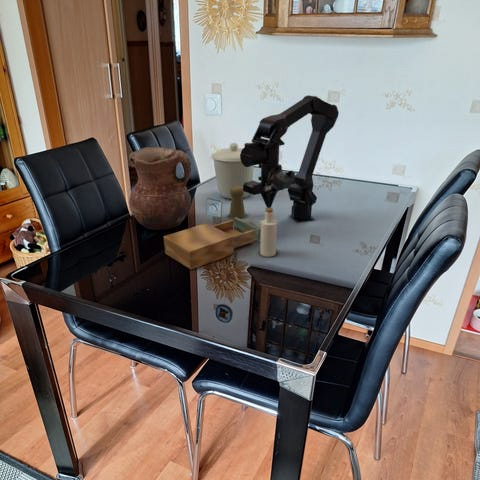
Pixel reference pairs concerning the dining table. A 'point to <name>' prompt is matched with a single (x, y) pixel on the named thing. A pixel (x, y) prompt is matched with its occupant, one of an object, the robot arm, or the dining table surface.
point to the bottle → (268, 234)
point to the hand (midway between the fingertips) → (268, 208)
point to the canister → (231, 170)
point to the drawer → (241, 231)
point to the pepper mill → (237, 202)
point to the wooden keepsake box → (199, 245)
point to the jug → (160, 188)
